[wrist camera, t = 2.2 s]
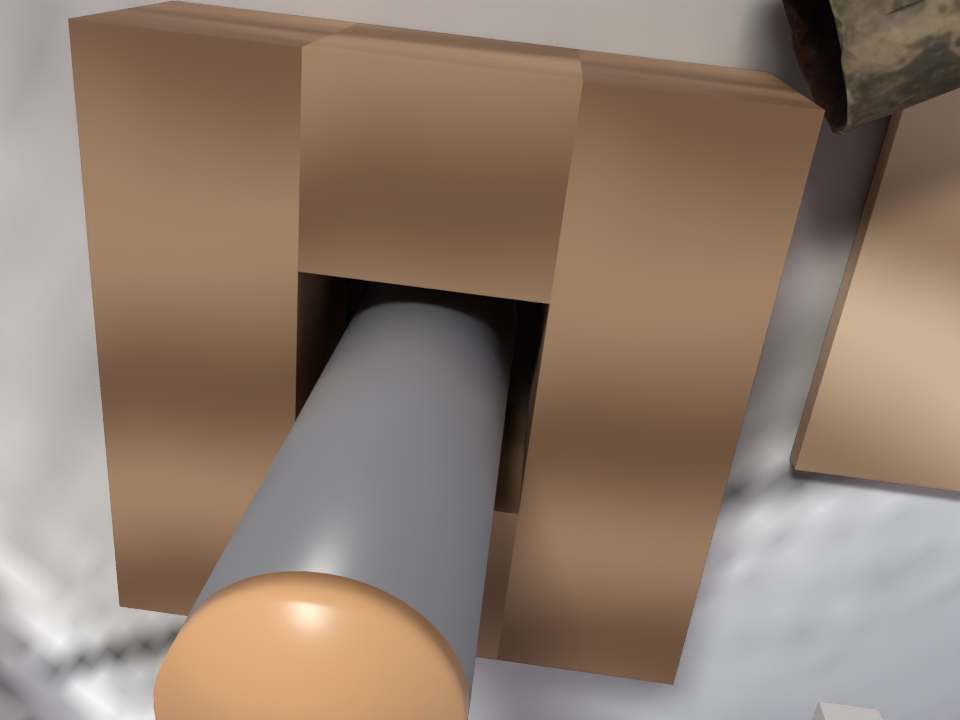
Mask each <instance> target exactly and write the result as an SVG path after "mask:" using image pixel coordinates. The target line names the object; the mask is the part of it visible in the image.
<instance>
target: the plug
mask: <svg viewBox="0 0 960 720" xmlns="http://www.w3.org/2000/svg"><path fill="white" fill-rule="evenodd" d="M516 323H517V303H516V300H515V299H508V298H500V297H492V296H484V295H477V294H469V293H461V292H453V291H446V290H438V289H430V288H422V287H415V286H407V285H399V284H391V283H384V282H376V281H373V282H372V283H371V285H370V287H369V289H368V291H367V292H366V294H365V296H364V298H363V300H362V301H361V303H360V305H359V307H358V309H357V311H356V312H355V314H354V316H353V318H352V320H351V321H350V323H349V325H348V327H347V329H346V330H345V332H344V334H343V336H342V338H341V340H340V341H339V343H338V345H337V347H336V349H335V350H334V352H333V354H332V356H331V358H330V359H329V361H328V363H327V365H326V367H325V369H324V370H323V372H322V374H321V376H320V378H319V379H318V381H317V383H316V385H315V387H314V389H313V390H312V392H311V394H310V396H309V398H308V399H307V401H306V403H305V405H304V407H303V408H302V410H301V412H300V414H299V416H298V418H297V419H296V421H295V423H294V425H293V427H292V428H291V430H290V432H289V434H288V436H287V437H286V439H285V441H284V443H283V445H282V447H281V448H280V450H279V452H278V454H277V456H276V457H275V459H274V461H273V463H272V465H271V466H270V468H269V470H268V472H267V474H266V476H265V477H264V479H263V481H262V483H261V485H260V486H259V488H258V490H257V492H256V494H255V495H254V497H253V499H252V501H251V503H250V505H249V506H248V508H247V510H246V512H245V514H244V515H243V517H242V519H241V521H240V523H239V524H238V526H237V528H236V530H235V532H234V534H233V535H232V537H231V539H230V541H229V543H228V544H227V546H226V548H225V550H224V552H223V553H222V555H221V557H220V559H219V561H218V563H217V564H216V566H215V568H214V570H213V572H212V573H211V575H210V577H209V579H208V581H207V582H206V584H205V586H204V588H203V590H202V592H201V593H200V595H199V597H198V599H197V601H196V602H195V604H194V606H193V608H192V610H191V611H190V613H189V615H188V617H187V619H186V621H185V622H184V624H183V626H182V628H181V630H180V631H179V633H178V635H177V637H176V639H175V640H174V642H173V644H172V646H171V648H170V650H169V651H168V653H167V655H166V657H165V659H164V660H163V662H162V665H161V667H160V670H159V672H158V675H157V678H156V683H155V688H154V712H155V718H156V720H468V715H469V707H470V699H471V690H472V682H473V674H474V666H475V658H476V650H477V641H478V633H479V625H480V617H481V609H482V601H483V592H484V584H485V576H486V568H487V560H488V552H489V544H490V535H491V527H492V519H493V511H494V503H495V495H496V486H497V478H498V470H499V462H500V454H501V446H502V438H503V429H504V421H505V413H506V405H507V397H508V389H509V380H510V372H511V364H512V356H513V348H514V340H515V332H516Z"/></svg>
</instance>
